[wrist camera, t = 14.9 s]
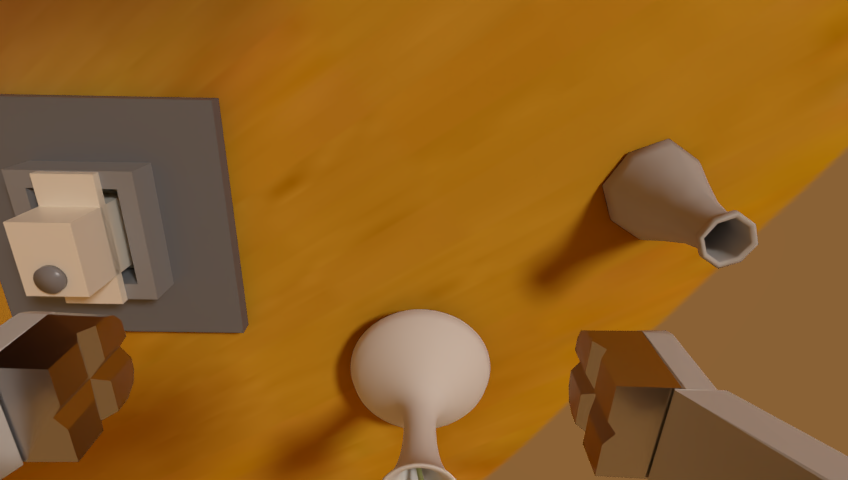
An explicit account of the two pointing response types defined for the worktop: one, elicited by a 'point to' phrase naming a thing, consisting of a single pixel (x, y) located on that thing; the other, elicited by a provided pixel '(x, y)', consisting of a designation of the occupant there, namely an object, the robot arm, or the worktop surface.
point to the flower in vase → (420, 381)
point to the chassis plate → (135, 202)
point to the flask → (676, 204)
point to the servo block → (71, 240)
